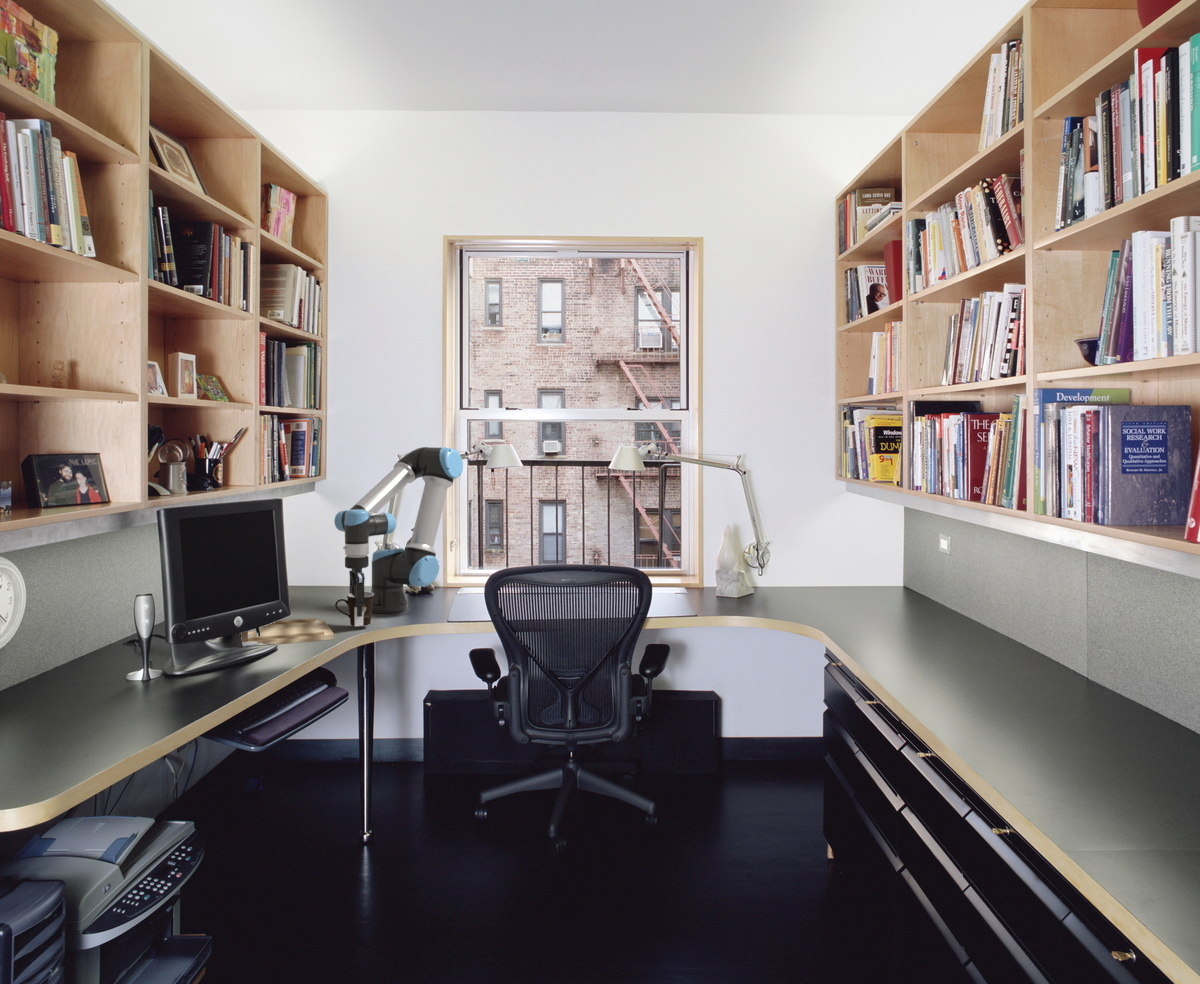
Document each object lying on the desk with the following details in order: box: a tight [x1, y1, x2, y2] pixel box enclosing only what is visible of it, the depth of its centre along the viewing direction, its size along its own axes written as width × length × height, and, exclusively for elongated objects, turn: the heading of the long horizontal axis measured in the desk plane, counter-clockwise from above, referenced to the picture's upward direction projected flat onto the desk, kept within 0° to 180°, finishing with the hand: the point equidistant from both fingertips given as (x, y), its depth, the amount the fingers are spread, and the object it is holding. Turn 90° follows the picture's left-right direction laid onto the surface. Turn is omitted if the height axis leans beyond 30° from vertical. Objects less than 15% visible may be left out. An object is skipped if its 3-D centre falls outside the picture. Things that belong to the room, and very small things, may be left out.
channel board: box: [241, 617, 335, 645], centre depth 225 cm, size 26×22×6 cm
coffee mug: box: [334, 591, 374, 627], centre depth 237 cm, size 12×9×10 cm
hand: (357, 623), depth 237 cm, fingers closed on coffee mug, 6 cm apart
